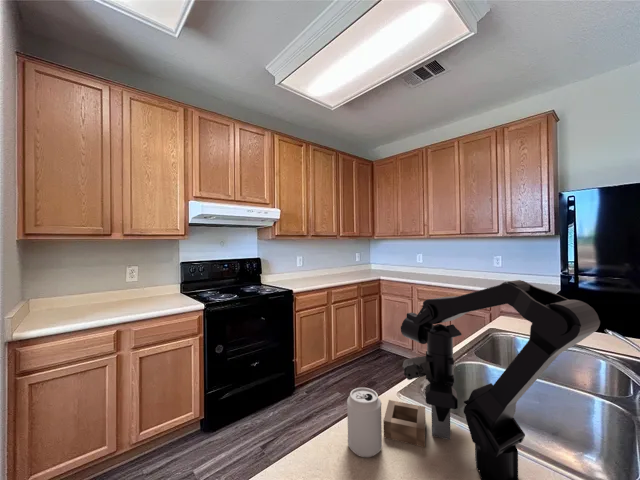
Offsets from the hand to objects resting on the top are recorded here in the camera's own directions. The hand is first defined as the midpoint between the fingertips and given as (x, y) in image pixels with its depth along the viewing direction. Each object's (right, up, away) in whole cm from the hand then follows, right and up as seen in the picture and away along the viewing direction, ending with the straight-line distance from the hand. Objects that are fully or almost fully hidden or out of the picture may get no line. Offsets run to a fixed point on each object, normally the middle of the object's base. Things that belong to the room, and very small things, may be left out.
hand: (440, 415), depth 68 cm
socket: (-8, -4, +1) cm, 9 cm away
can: (-19, -5, -4) cm, 20 cm away
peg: (0, -4, 0) cm, 4 cm away
